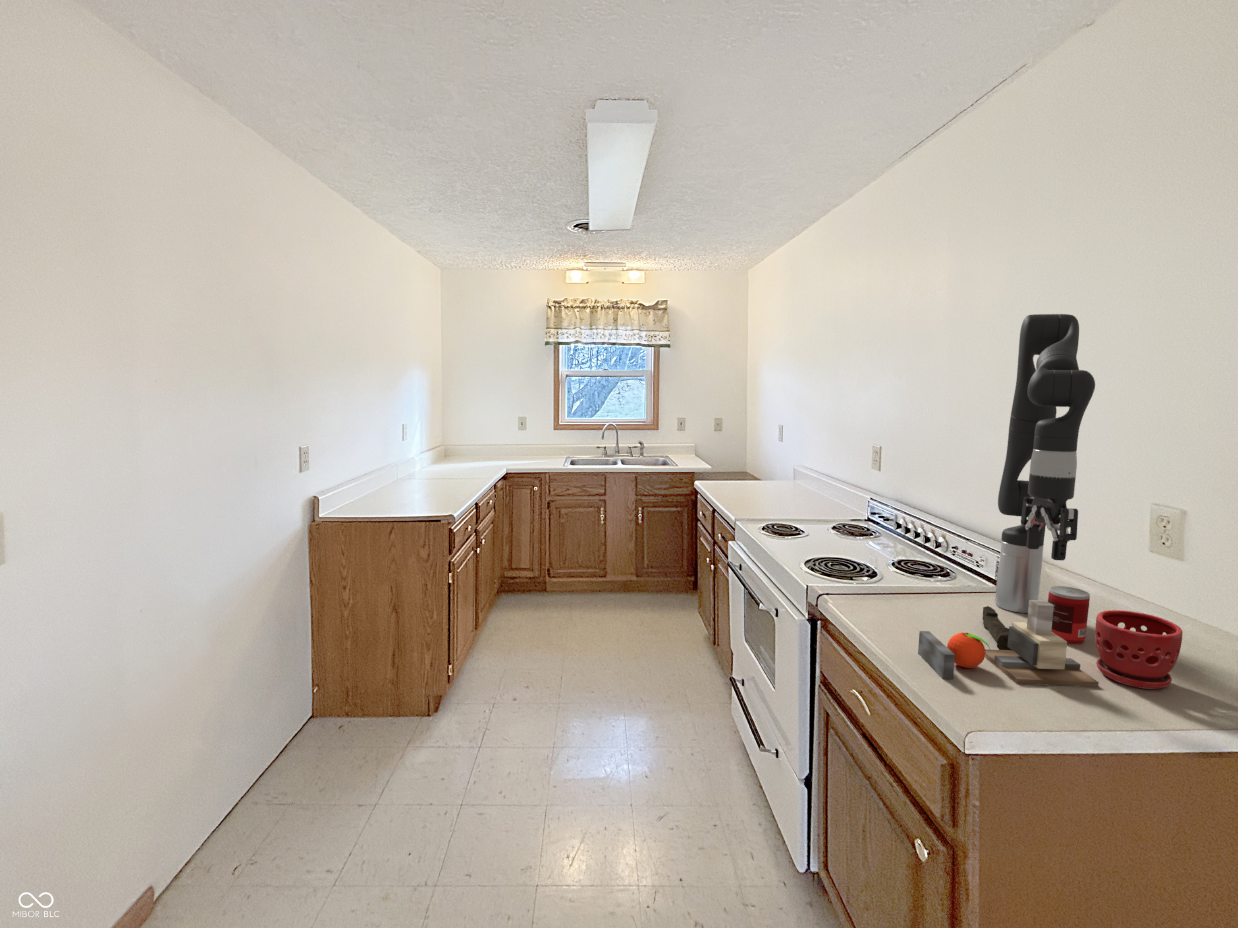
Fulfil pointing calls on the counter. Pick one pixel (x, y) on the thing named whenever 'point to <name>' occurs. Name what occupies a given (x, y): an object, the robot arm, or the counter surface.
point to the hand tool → (995, 628)
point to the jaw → (1038, 638)
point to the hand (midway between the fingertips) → (1044, 554)
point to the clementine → (967, 649)
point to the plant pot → (1137, 648)
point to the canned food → (1069, 613)
